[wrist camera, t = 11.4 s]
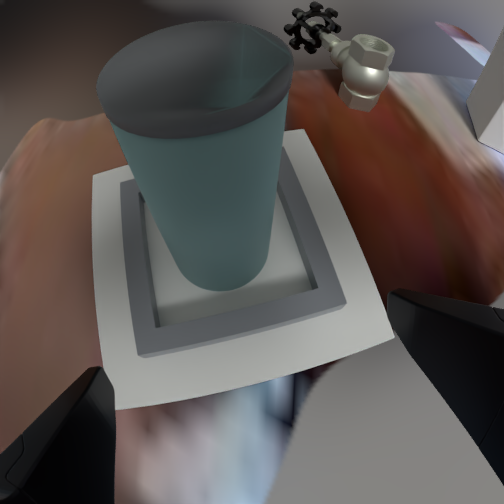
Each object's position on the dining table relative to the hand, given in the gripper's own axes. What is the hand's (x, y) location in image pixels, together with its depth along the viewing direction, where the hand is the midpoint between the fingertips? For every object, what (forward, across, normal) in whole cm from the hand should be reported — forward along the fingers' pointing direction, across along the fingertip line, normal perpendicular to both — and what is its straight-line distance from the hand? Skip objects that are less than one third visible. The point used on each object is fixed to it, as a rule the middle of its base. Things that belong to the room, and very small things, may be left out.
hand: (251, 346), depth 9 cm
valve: (+22, -15, -10) cm, 29 cm away
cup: (+10, 0, 0) cm, 10 cm away
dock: (+11, 0, +1) cm, 11 cm away
